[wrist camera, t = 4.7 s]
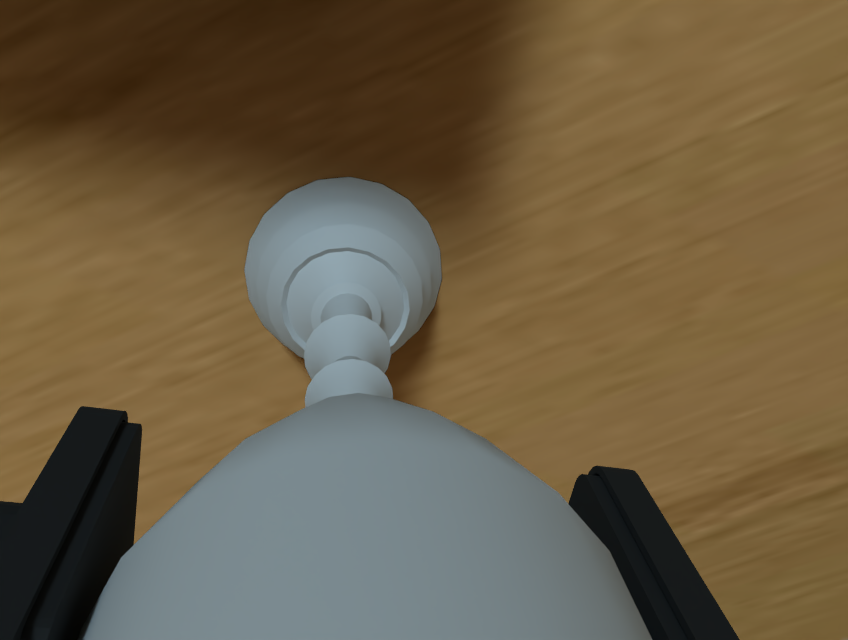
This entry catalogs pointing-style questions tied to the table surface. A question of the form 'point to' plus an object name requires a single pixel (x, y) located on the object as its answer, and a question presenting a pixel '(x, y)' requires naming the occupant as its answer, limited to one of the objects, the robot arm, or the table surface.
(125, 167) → the table surface
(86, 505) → the robot arm
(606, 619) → the chalice
